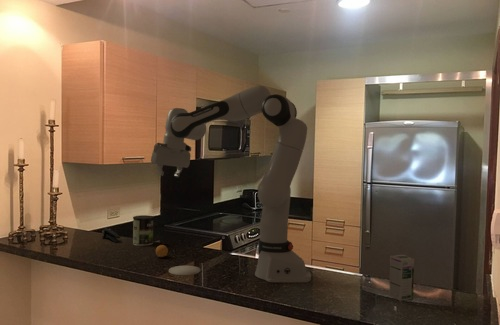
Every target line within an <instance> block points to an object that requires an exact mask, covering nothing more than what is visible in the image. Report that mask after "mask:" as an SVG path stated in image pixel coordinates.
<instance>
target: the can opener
mask: <svg viewBox="0 0 500 325" xmlns="http://www.w3.org/2000/svg"><path fill="white" fill-rule="evenodd" d="M101 233H102V235H101V237H102V239H109V240H110V241H112V242H114V243H115V244H118V243H119V242H120V240H118V239H120V238H121V236H120V235H119V234H118V233H116V232H115V231H113V230H112V229H111V228H106V227H105V228H103V229H102V231H101Z"/></svg>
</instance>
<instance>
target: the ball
mask: <svg viewBox="0 0 500 325" xmlns="http://www.w3.org/2000/svg"><path fill="white" fill-rule="evenodd" d="M168 252H169V250H168V247H167V245H164V244H160V245H158V246H157V247H156V248H155V254H156V256H157V257H159V258H164V257H166V256H167V255H168Z"/></svg>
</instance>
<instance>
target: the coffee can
mask: <svg viewBox="0 0 500 325" xmlns="http://www.w3.org/2000/svg"><path fill="white" fill-rule="evenodd" d="M132 218H133V220H132V221H133V222H132V245H134V246H137V247H144V246H145V247H146V246H151V245H153V244H154V219H155V218H154V216H153V215H145V214H144V215H143V214H142V215H134V216H133V217H132Z"/></svg>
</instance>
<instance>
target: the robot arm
mask: <svg viewBox="0 0 500 325" xmlns="http://www.w3.org/2000/svg"><path fill="white" fill-rule="evenodd" d="M258 114H262V115H263V116H264V118H265V119H266V120H267V121H268V122H270V123H272V124H273V125H275V127H277V128H278V131H279V132H278V136H277V139H276V142H275V145H274V149H273V152H272V156H271V158H270V161H269V163H268V165H267V168H266V170H265V172H264V174H263V176H262V177H263V178H262V179H261V183H260V185H259V188H258V191H257V200H258V201H259V203H260V204H262V210H261V216H260V221H259V224H260V225H259V226H260V227H259V239H258V243H257V244H258V246H257V249H258V250H257V252H258V258H257V259H258V260H257V265H256V269H255V272H254V276H255V277H257V278H259V279H260V280H264V281H266V282H268V283H308V282H310V281H311V280H312V274H311V272H310V271H308V270H307V268H306V263H305V260H304V259H303V258H302V257H300V256H299V255H298V254H297V253H296V252H294V251H293V249H294V245H293V243H292V241H289V240H288V232H289V231H288V228H289V216H290V205H291V196H292V195H291V194H292V191H291V189H292V188H291V185H292V182H293V180H294V177H295V174H296V172H297V170H298V167H299V164H300V162H301V158H302V155H303V153H304V148H305V146H306V145H305V144H306V140H307V135H308V134H307V133H308V126H307V124H306V123H305V122H304V120H302V119H299V118H297V115H298V112H297V107H296V105H295V104H294V103H293V102H292V100H290V99H289V98H287V97H285V96H283V95H281V94H272V93H271V92H270V91H269V89H268V87H266V86H264V85H257V86H254V87H250V88H246V89H244V90H242V91H240V92H237V93H235V94H233V95H231V96H228V97H226V98H224V99H222V100H220V101H217V102H215V103H212V104H208V105H206V106H203V107H201V108H198V109H196V110H193V111H191V112H188V110H187V109H185V108H182V107H181V108H180V107H179V108H178V107H175V108H171V109H170V110H169V111H168V113H167V116H166V120H165V126H164V128H165V133H164V136H163V142H156V144H154V145H153V150H152V153H151V158H150V163H151V164H153V165H156V168H157V171H158V172H157V175H158V176H161V177H163V176H164V174H165V171H163V168H164V166H169V167H176V171H175V172H174V175H173V176H174V177H175V178H179V177H180V174H181V173H182V170H183V168H186V169H188V168H189V167H190V165H191V164H190V162H191V151H192V147H191V146H190V145H189V144H187V143H186V142H185V139H187V140H191V141H199V140H201V139H202V138H204V137H205V134H206V132H207V126H206V124H208V123H210V122H213V121H231V122H240V121H245V120H246V119H249V118H252V117H254V116H257V115H258Z"/></svg>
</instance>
